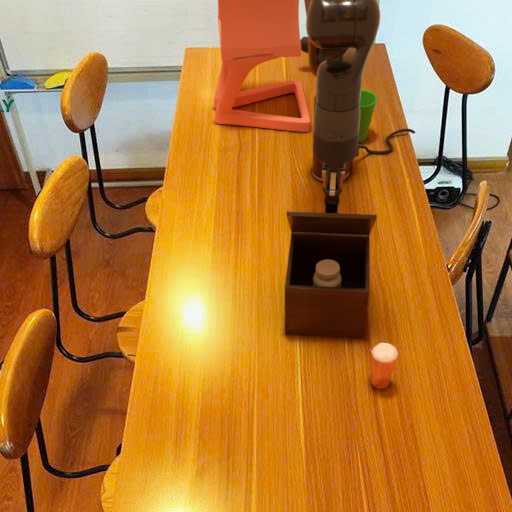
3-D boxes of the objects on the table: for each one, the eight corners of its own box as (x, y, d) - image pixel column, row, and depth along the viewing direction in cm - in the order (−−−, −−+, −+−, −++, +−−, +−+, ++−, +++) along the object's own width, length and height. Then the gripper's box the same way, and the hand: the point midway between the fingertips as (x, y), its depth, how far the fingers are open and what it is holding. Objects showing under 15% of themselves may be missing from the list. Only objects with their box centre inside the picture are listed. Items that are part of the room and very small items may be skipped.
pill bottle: (343, 298, 142) (346, 260, 134) (335, 316, 138) (338, 279, 131) (316, 292, 143) (318, 254, 135) (308, 310, 140) (309, 273, 132)
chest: (363, 338, 136) (369, 291, 126) (284, 334, 137) (284, 287, 127) (364, 282, 146) (369, 235, 136) (290, 279, 147) (291, 231, 138)
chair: (212, 94, 198) (200, -43, 171) (300, 89, 199) (302, -49, 172) (215, 138, 183) (203, -5, 156) (311, 132, 184) (315, -11, 157)
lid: (376, 219, 119) (376, 214, 119) (286, 215, 120) (286, 211, 120) (369, 235, 136) (370, 231, 136) (291, 232, 137) (291, 228, 137)
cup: (371, 148, 179) (375, 107, 170) (337, 145, 180) (339, 104, 172) (375, 130, 184) (379, 90, 176) (341, 127, 186) (344, 87, 177)
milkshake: (361, 374, 130) (366, 337, 122) (389, 372, 130) (396, 335, 122) (365, 393, 127) (371, 356, 119) (394, 390, 127) (401, 353, 119)
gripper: (358, 150, 108) (350, 240, 121) (359, 108, 116) (352, 196, 130) (311, 148, 108) (308, 238, 122) (315, 106, 117) (312, 194, 130)
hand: (330, 216), depth 126 cm, fingers closed
